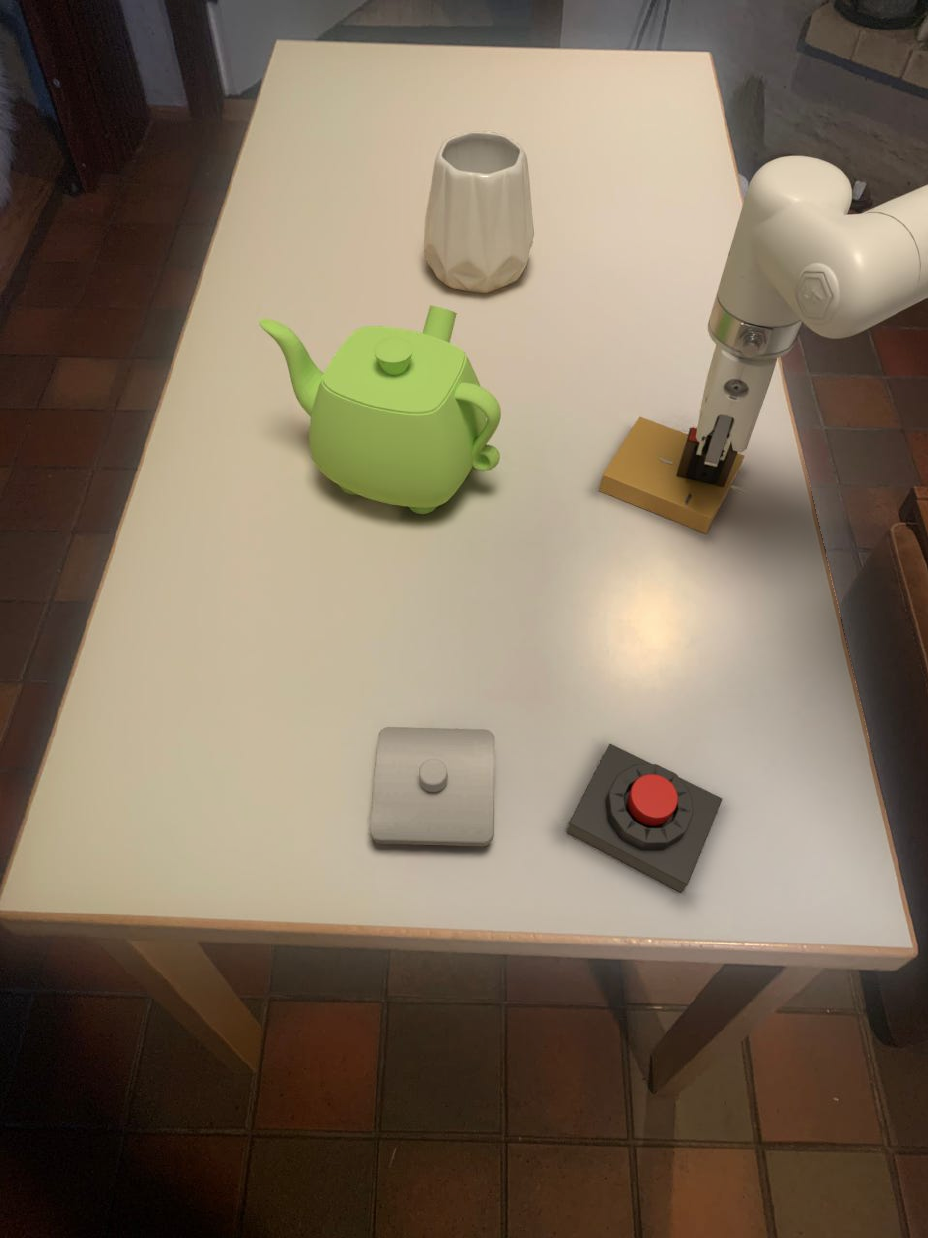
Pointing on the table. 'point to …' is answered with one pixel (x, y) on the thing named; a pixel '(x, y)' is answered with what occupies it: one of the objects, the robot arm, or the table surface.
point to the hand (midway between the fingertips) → (703, 468)
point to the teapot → (395, 412)
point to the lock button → (652, 799)
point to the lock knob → (688, 452)
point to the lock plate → (663, 477)
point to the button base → (632, 842)
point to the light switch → (433, 787)
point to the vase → (479, 212)
